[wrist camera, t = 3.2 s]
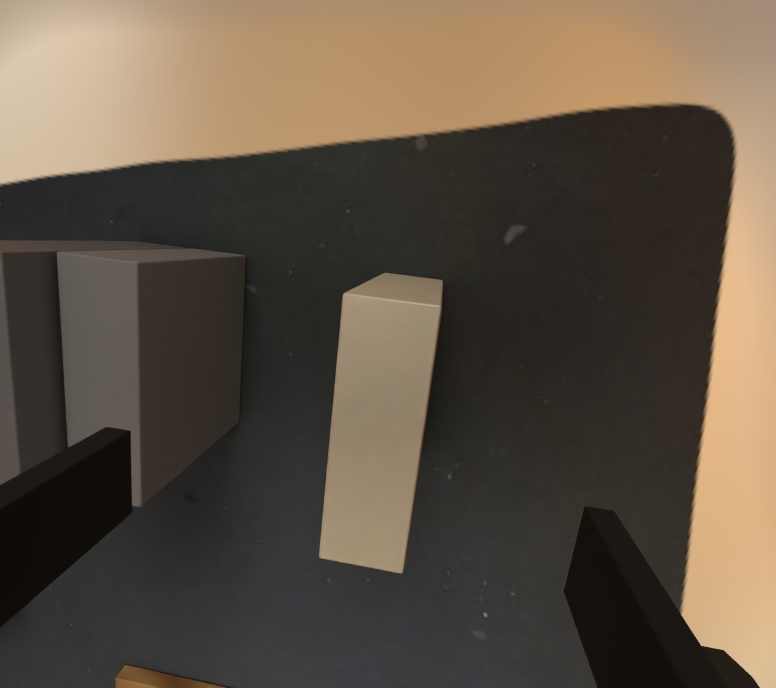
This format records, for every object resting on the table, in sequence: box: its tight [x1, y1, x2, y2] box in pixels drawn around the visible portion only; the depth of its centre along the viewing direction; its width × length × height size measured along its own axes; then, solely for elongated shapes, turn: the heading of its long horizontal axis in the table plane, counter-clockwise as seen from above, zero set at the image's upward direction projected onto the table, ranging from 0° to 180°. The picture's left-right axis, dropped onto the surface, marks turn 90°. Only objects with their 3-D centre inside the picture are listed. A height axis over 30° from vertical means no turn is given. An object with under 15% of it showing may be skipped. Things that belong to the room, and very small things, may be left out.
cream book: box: [319, 273, 443, 573], centre depth 22 cm, size 4×11×11 cm, turn 173°
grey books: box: [0, 241, 246, 507], centre depth 23 cm, size 7×11×12 cm, turn 173°
